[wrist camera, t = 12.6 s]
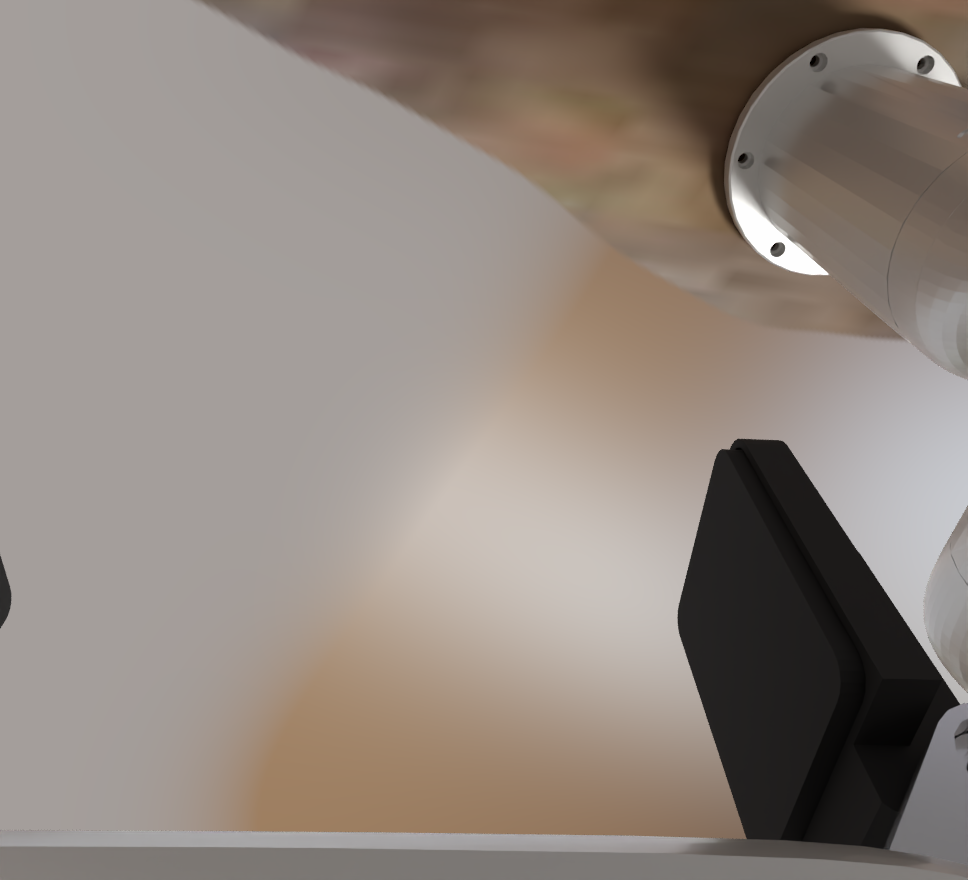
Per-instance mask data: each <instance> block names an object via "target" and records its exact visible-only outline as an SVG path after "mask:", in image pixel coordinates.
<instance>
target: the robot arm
mask: <svg viewBox="0 0 968 880" xmlns="http://www.w3.org/2000/svg"><path fill="white" fill-rule="evenodd" d="M814 55H815V56H816V61H815V63H814V64H813V65H811V66H810V61H811V59H812V57H813V56H814ZM920 59H921V63H920V65H919V66H918V67H917V64H918V62H919V60H920ZM742 153H745V157H744V159H743V160H742V161H739V162H738V158H739V156H740V155H741V154H742ZM724 188H725V194H726V201H727V206H728V209H729V212H730V214H731V217H732V219H733V222H734V225H735V226H736V228H737V229H738V231H739V232H740V234H741V235H742V237H743V238H744V240H745V241H746V242H747V243H748V244H749V245H750V246H751V247H752V248H753V249H754V250H755V251H756V252H757V253H758V254H759V255H761V256H762V257H763V258H764V259H766V260H767V261H768V262H770V263H772V264H774V265H776V266H778V267H781V268H783V269H785V270H788V271H791V272H795V273H800V274H805V275H830V276H831V277H833V278H834V279H835V280H836V281H837V282H838V283H840V284H841V285H842V286H843V287H844V288H846V289H847V290H848V291H849V292H850V293H851V294H853V295H854V296H855V297H856V298H857V299H858V300H860V301H861V302H862V303H863V304H864V305H865V306H867V307H868V308H869V309H870V310H871V311H872V312H874V313H875V314H876V315H877V316H878V317H879V318H881V319H882V320H883V321H884V322H885V323H887V324H888V325H889V326H890V327H891V328H892V329H894V330H895V331H896V332H897V333H898V334H899V335H901V336H902V337H903V338H904V339H905V340H907V341H908V342H909V343H911V344H912V345H913V346H914V347H916V348H917V349H918V350H919V351H920V352H922V353H923V354H924V355H925V356H926V357H927V358H929V359H930V360H931V361H933V362H934V363H935V364H937V365H938V366H940V367H942V368H943V369H945V370H947V371H948V372H950V373H953V374H955V375H957V376H960V377H962V378H964V379H967V380H968V89H966V88H963V87H962V86H961V84H960V82H959V80H958V77H957V75H956V73H955V71H954V69H953V68H952V67H951V65H950V64H949V63H948V62H947V61H946V59H945V58H944V57H943V56H942V54H941V53H940V52H938V51H937V50H935V49H934V48H933V47H931V46H930V45H929V44H927V43H926V42H925V41H923V40H921V39H918V38H916V37H913V36H910V35H908V34H905V33H903V32H898V31H893V30H888V29H878V28H858V29H853V30H848V31H842V32H837V33H834V34H832V35H829V36H827V37H824V38H821V39H819V40H816V41H814V42H812V43H810V44H809V45H807V46H805V47H804V48H802V49H800V50H799V51H797V52H795V53H794V54H792V55H790V56H789V57H788V58H787V59H786V60H785V61H783V62H782V63H781V64H780V65H779V66H778V67H777V68H775V69H774V70H773V71H772V72H771V73H770V74H769V75H768V76H767V77H766V78H765V80H764V81H763V82H762V83H761V84H760V86H759V87H758V88H757V89H756V90H755V91H754V93H753V94H752V96H751V97H750V99H749V101H748V102H747V104H746V106H745V107H744V109H743V111H742V112H741V114H740V115H739V118H738V120H737V123H736V125H735V128H734V130H733V133H732V135H731V138H730V141H729V146H728V150H727V155H726V159H725V171H724ZM774 243H776V245H775V247H774V248H771V246H772V245H773V244H774ZM770 248H771V249H770ZM10 605H11V590H10V586H9V582H8V579H7V576H6V573H5V569H4V566H3V563H2V559H1V556H0V628H1V626H2V625H3V623H4V621H5V620H6V618H7V616H8V613H9V610H10ZM924 623H925V627H926V630H927V634H928V638H929V640H930V643H931V645H932V647H933V649H934V650H935V652H936V654H937V656H938V658H939V659H940V661H941V662H942V664H943V665H944V667H945V668H946V669H947V670H948V672H949V673H950V674H951V676H952V677H953V678H954V679H955V680H956V681H957V682H958V684H959V685H960V686H961V687H962V688H964V690H965V691H966V692H967V693H968V506H967V508H966V510H965V512H964V513H963V515H962V517H961V519H960V520H959V522H958V524H957V526H956V527H955V529H954V531H953V532H952V534H951V536H950V538H949V539H948V541H947V543H946V545H945V547H944V548H943V550H942V552H941V554H940V556H939V558H938V560H937V562H936V564H935V566H934V568H933V570H932V573H931V575H930V578H929V581H928V584H927V588H926V592H925V597H924ZM678 629H679V634H680V637H681V640H682V643H683V646H684V649H685V653H686V656H687V659H688V662H689V665H690V668H691V670H692V674H693V677H694V680H695V683H696V686H697V689H698V692H699V695H700V698H701V701H702V704H703V707H704V710H705V713H706V716H707V719H708V722H709V725H710V729H711V731H712V734H713V738H714V740H715V743H716V747H717V750H718V752H719V756H720V759H721V762H722V765H723V768H724V771H725V774H726V777H727V780H728V783H729V786H730V789H731V792H732V795H733V798H734V801H735V804H736V807H737V811H738V814H739V817H740V819H741V823H742V825H743V829H744V832H745V835H746V838H747V839H723V838H689V837H656V836H611V835H609V836H608V835H605V836H604V835H534V834H531V835H530V834H527V835H526V834H451V833H450V834H449V833H371V832H368V833H367V832H364V833H363V832H247V831H244V832H243V831H242V832H241V831H239V832H237V831H93V830H91V831H89V830H0V880H968V703H964V704H961V705H960V703H959V702H958V701H957V699H956V697H955V696H954V694H953V693H952V692H951V690H950V689H949V687H948V685H947V684H946V682H945V681H944V679H943V678H942V676H941V675H940V673H939V672H938V670H937V669H936V667H935V666H934V665H933V663H932V661H931V660H930V658H929V657H928V656H927V654H926V652H925V651H924V649H923V648H922V646H921V645H920V643H919V642H918V640H917V639H916V637H915V636H914V634H913V633H912V631H911V630H910V628H909V627H908V625H907V624H906V622H905V621H904V619H903V618H902V616H901V615H900V613H899V612H898V610H897V609H896V607H895V606H894V604H893V603H892V601H891V600H890V598H889V597H888V595H887V594H886V592H885V591H884V589H883V588H882V586H881V585H880V583H879V582H878V581H877V579H876V578H875V576H874V574H873V573H872V571H871V570H870V568H869V567H868V565H867V564H866V562H865V561H864V559H863V558H862V556H861V555H860V553H859V552H858V551H857V550H856V548H855V547H854V545H853V544H852V543H851V541H850V539H849V538H848V536H847V535H846V533H845V532H844V530H843V529H842V527H841V526H840V525H839V523H838V521H837V520H836V518H835V517H834V515H833V514H832V512H831V511H830V509H829V508H828V506H827V505H826V503H825V502H824V500H823V499H822V497H821V496H820V494H819V493H818V491H817V490H816V488H815V487H814V485H813V484H812V482H811V481H810V479H809V478H808V476H807V475H806V473H805V472H804V470H803V468H802V467H801V466H800V464H799V462H798V461H797V459H796V458H795V457H794V455H793V453H792V452H791V450H790V449H789V448H788V446H787V445H786V444H785V443H784V442H783V441H779V440H756V439H754V440H753V439H737V440H735V441H734V443H733V444H732V446H731V448H730V450H725V449H722V450H720V451H719V452H718V454H717V456H716V459H715V462H714V466H713V470H712V475H711V478H710V483H709V486H708V490H707V494H706V499H705V502H704V506H703V511H702V515H701V518H700V522H699V527H698V531H697V535H696V539H695V543H694V547H693V551H692V555H691V559H690V563H689V567H688V571H687V575H686V579H685V583H684V587H683V591H682V595H681V599H680V603H679V608H678Z"/></svg>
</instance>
